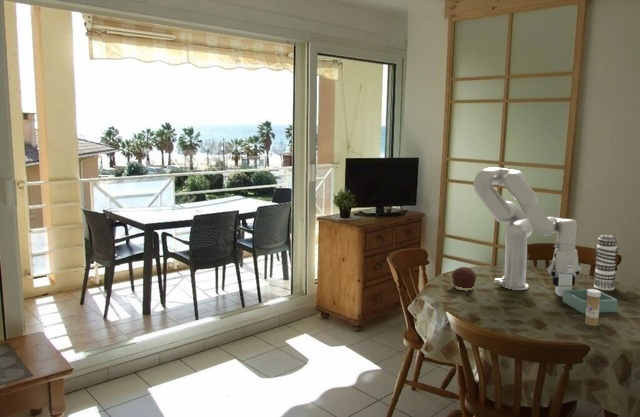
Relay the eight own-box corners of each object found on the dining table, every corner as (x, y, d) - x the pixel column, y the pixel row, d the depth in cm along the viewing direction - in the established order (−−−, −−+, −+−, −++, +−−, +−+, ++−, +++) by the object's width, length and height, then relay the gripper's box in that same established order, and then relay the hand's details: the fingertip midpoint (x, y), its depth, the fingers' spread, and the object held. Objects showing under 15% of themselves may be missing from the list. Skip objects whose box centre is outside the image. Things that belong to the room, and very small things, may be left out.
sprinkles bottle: (583, 324, 191) (586, 290, 189) (586, 321, 195) (588, 287, 193) (597, 327, 188) (599, 293, 186) (599, 324, 192) (602, 290, 190)
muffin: (451, 284, 244) (452, 264, 243) (475, 285, 241) (476, 265, 240) (451, 291, 233) (451, 270, 232) (476, 293, 230) (476, 272, 229)
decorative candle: (618, 290, 231) (622, 237, 228) (597, 290, 233) (600, 237, 229) (610, 285, 240) (614, 233, 237) (590, 284, 242) (593, 233, 238)
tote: (582, 313, 203) (583, 301, 203) (562, 301, 218) (563, 290, 217) (616, 311, 205) (617, 300, 204) (594, 300, 219) (595, 289, 218)
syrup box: (571, 297, 223) (573, 265, 221) (557, 296, 225) (559, 264, 222) (568, 293, 229) (570, 262, 227) (554, 292, 230) (556, 261, 228)
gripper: (551, 249, 219) (549, 288, 222) (589, 248, 221) (586, 287, 223) (542, 245, 227) (540, 283, 229) (579, 244, 228) (577, 282, 231)
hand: (563, 284), depth 226 cm, fingers closed on syrup box, 6 cm apart
